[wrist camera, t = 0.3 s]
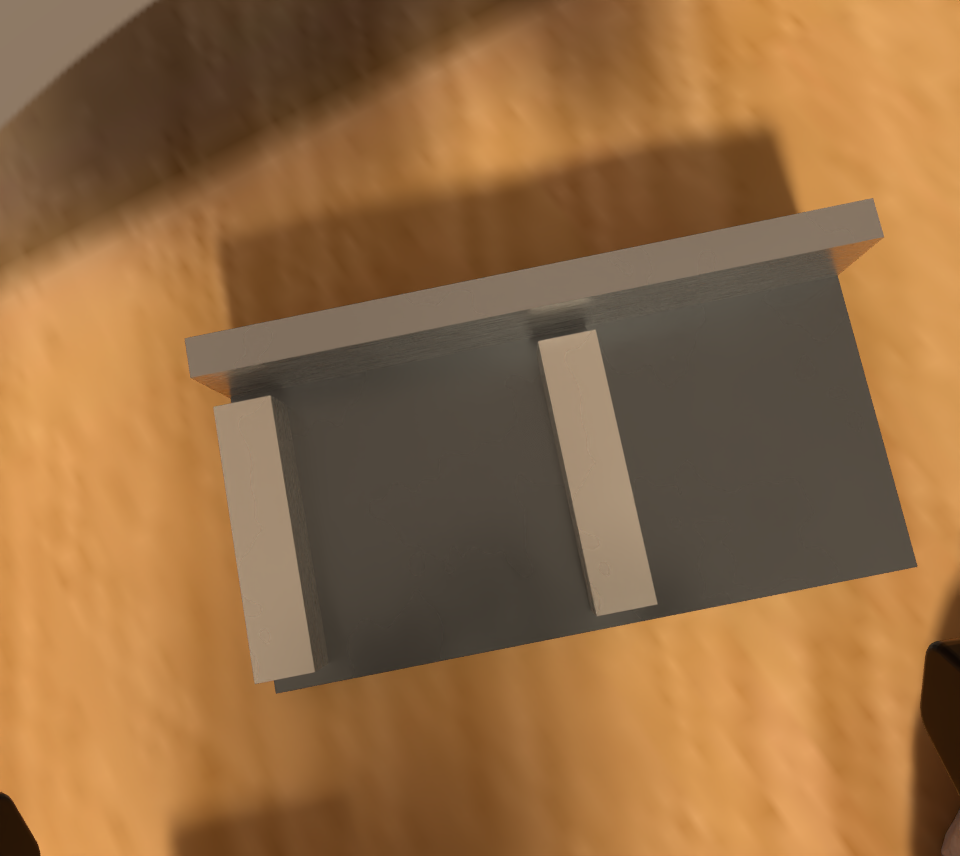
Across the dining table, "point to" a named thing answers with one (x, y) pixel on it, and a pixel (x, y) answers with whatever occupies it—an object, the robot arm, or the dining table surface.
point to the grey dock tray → (553, 450)
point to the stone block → (952, 839)
